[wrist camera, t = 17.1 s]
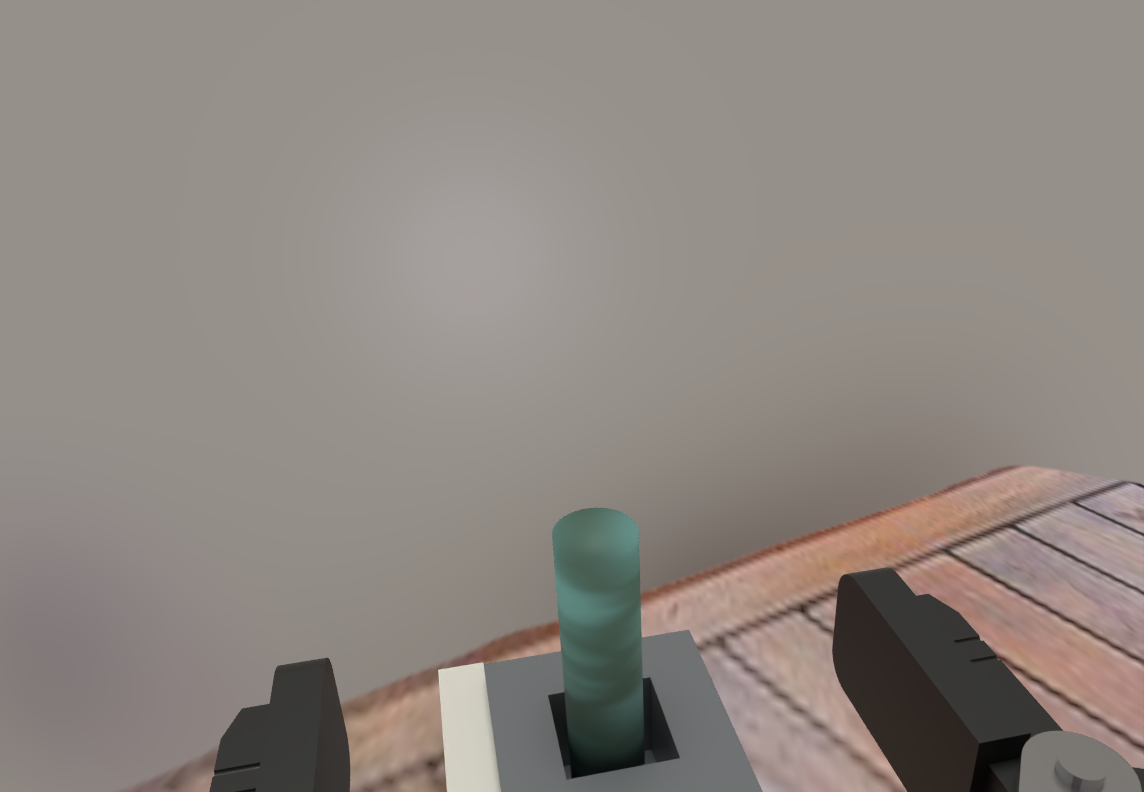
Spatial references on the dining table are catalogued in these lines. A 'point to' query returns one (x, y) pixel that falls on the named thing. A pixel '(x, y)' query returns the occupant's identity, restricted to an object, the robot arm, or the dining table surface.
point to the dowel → (600, 639)
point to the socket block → (671, 727)
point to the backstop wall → (467, 730)
